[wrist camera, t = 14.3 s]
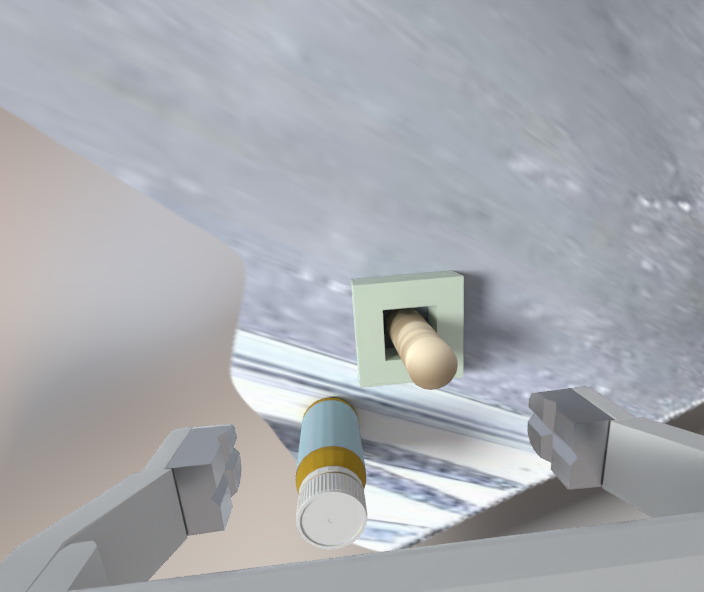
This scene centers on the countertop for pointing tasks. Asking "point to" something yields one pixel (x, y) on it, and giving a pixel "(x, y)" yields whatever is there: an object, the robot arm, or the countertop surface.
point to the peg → (421, 349)
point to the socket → (404, 292)
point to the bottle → (330, 476)
